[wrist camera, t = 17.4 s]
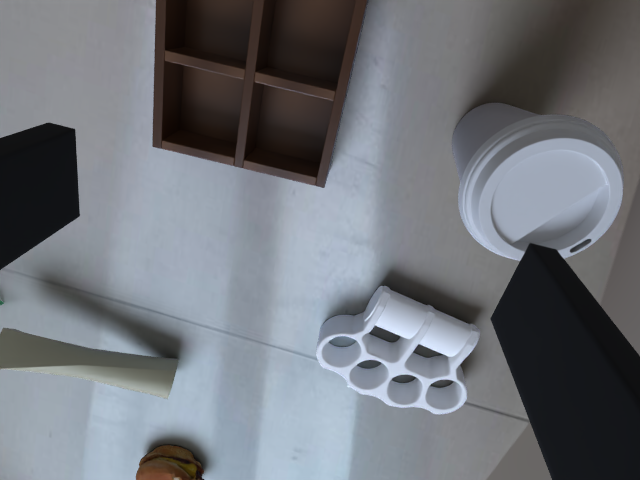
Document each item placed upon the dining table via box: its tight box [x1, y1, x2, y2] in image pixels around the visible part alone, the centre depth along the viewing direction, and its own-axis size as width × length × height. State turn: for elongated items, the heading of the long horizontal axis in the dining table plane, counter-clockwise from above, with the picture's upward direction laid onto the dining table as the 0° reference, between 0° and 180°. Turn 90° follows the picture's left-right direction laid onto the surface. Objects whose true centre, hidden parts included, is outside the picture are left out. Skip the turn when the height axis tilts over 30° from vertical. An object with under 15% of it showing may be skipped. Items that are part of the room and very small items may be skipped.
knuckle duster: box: [316, 286, 480, 414], centre depth 49 cm, size 3×18×15 cm
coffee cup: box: [452, 103, 624, 261], centre depth 32 cm, size 10×10×15 cm
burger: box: [136, 445, 204, 480], centre depth 64 cm, size 10×9×5 cm
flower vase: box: [0, 301, 179, 399], centre depth 51 cm, size 12×12×35 cm
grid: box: [153, 0, 369, 188], centre depth 34 cm, size 15×23×5 cm
